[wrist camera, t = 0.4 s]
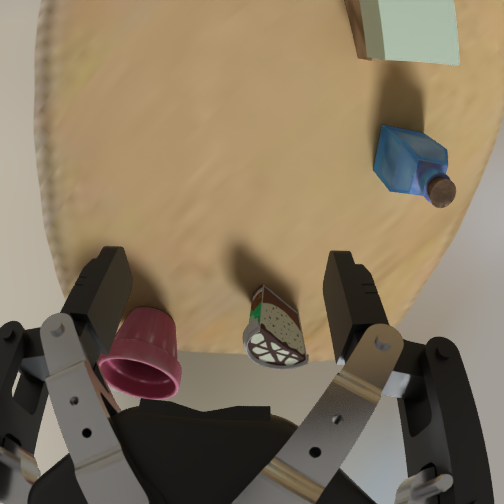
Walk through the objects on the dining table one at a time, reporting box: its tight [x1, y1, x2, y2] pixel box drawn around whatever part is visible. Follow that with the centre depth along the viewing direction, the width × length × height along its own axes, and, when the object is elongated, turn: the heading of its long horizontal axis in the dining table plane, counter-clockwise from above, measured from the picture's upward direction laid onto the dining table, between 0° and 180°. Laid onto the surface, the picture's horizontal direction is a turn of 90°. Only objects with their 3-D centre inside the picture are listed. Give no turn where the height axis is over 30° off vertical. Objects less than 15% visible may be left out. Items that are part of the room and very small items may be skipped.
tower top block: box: [359, 0, 460, 66], centre depth 21 cm, size 8×8×5 cm
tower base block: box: [344, 0, 382, 61], centre depth 25 cm, size 8×8×5 cm
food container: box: [243, 284, 309, 370], centre depth 49 cm, size 12×6×10 cm, turn 42°
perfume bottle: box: [373, 125, 456, 208], centre depth 31 cm, size 6×6×12 cm
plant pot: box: [98, 307, 182, 400], centre depth 51 cm, size 14×14×13 cm
